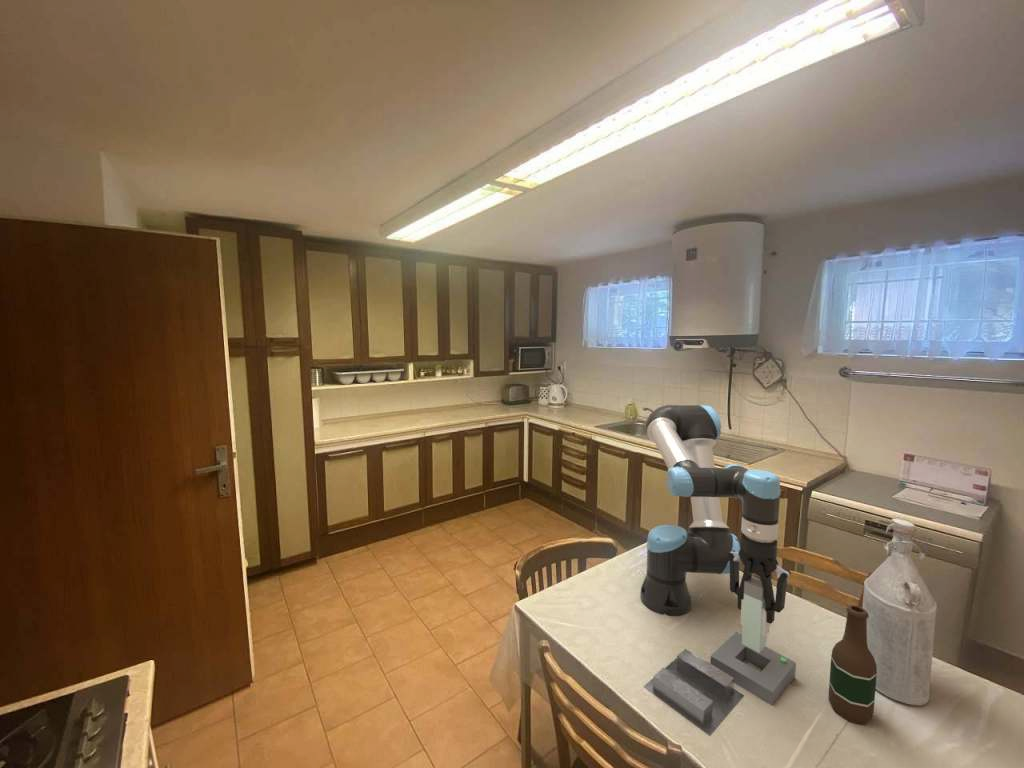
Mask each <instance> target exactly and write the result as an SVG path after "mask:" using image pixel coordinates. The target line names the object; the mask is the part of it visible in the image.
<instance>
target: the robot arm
mask: <svg viewBox="0 0 1024 768" xmlns="http://www.w3.org/2000/svg"><path fill="white" fill-rule="evenodd" d="M644 428H645V433H646V436H647V437H648V439H649V441H651V442H653V443H654V444H655V446H656V448H657V450H658V452H659V453H660V455H661V457H662V459H663V461H664V463H665V465H666V467H667V472H666V476H665V477H666V485H667V489H668V492H669V494H670V495H672V496H675V497H683V498H690V502H691V503H690V504H691V511H692V519H693V521H692V523H691V524H690V525H689V527H688V529H689V530H688V531H689V532H688V531H687V530H686V529H685V527H684V528H683V527H682V526H678V525H677V526H676V525H674V524H661V525H657V526H654V527H653V528H652V529H650V531H649V532H648V535H647V539H646V549H647V550H646V573H645V574H646V575H645V577H644V580H643V582H642V585H641V587H640V601H641V603H643V604H644V605H645V606H646V607H647V608H649V609H650V610H651V611H654V612H656V613H659V614H662V615H667V616H681V615H686V614H687V613H688V612H689V611H690V610H691V608H692V596H691V595H690V594H691V593H690V590H689V588H688V584H687V580H686V579H687V573H694V574H716V575H723V574H724V575H725V574H727V575H728V574H729V590H730V592H731V593H733V594H735V595H736V596H737V609H738V610H740V625H741V626H742V625H743V602H744V582H745V581H748V580H749V579H750V578H751V577H753V575H757V576H759V579H760V581H761V582H762V587H763V588H764V599H765V605H766V606H765V607H764V608H763V609H762V630H761V635H762V636H764V637H765V636H766V635H767V636H768V634H769V632H770V627H771V626H770V625H772V624H773V623H774V622H775V614H776V613H781V612H782V611H783V610H784V609H785V605H786V595H787V584H788V579H789V578H790V576H791V573H792V572H791V571H790V570H788V569H786V570H785V569H784V568H782V567H781V566H780V565H779V561H778V560H777V559H778V558H777V557H778V556H777V555H778V538H779V537H778V536H779V516H780V502H781V494H782V493H781V492H782V491H781V490H782V489H781V485H780V484H781V479H780V477H779V476H778V475H777V473H774V472H770V471H768V470H764V469H748V468H747V467H744V466H743V465H739V464H735V463H731V464H728V465H726V466H724V467H716V466H715V459H714V452H713V447H714V446H715V445H716V443H717V439H719V438H720V436H721V433H722V430H721V429H722V423H721V419H720V416H719V414H718V412H717V411H716V409H714V407H713V406H710V405H702V404H693V405H691V404H690V405H689V404H688V405H687V404H685V405H684V404H680V405H679V404H678V405H677V404H675V405H674V404H666V405H662V406H660V407H657V408H656V409H654V410H652V412H651V413H649V415H648V416H647V419H646V421H645V427H644ZM720 498H729V499H730V498H731V499H732V498H734V499H737V500H739V501H740V502H741V504H742V505H741V506H742V507H741V510H742V512H741V526H740V527H741V528H740V529H741V530H740V531H741V533H740V542H739V539H738V537H737V536H736V535H735V534H734V533H730V526H728V525H727V524H726V523H725V522H724V520H723V515H722V507H721V500H720ZM740 561H741V562H742V564H743V566H744V567H743V571H742V577H741V580H740ZM775 571H776V577H777V580H776V581H777V582H776V591H775V592H776V593H774V589H773V582H772V578H773V577H772V576H773V575H772V573H773V572H775ZM775 612H776V613H775Z"/></svg>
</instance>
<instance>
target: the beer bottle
mask: <svg viewBox="0 0 1024 768" xmlns="http://www.w3.org/2000/svg"><path fill="white" fill-rule="evenodd" d="M845 611H846V612H847V615H846V621H845V626H844V627H845V628H844V633H843V636H842V639H841V640H839V641H838V642H837V643H835V644H834V646H833V648H832V650H831V655H830V669H829V684H828V701H829V703H830V705H831V707H832V709H833V710H834V712H835V714H837V715H839V716H840V717H842V719H845V720H846V721H848V722H849V723H854V724H857V725H858V724H859V725H863V726H866V725H867V724H869V722H870V721H872V719H873V717H874V711H875V702H876V701H875V700H876V677H877V665H876V662H875V660H874V657H873V655H872V654H871V652H870V651H869V649H868V645H867V618H868V617H869V616H868V613H867V612H866V610H865V609H863V608H862V607H861V606H858V605H855V604H850V605H847V607H846V610H845Z"/></svg>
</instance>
